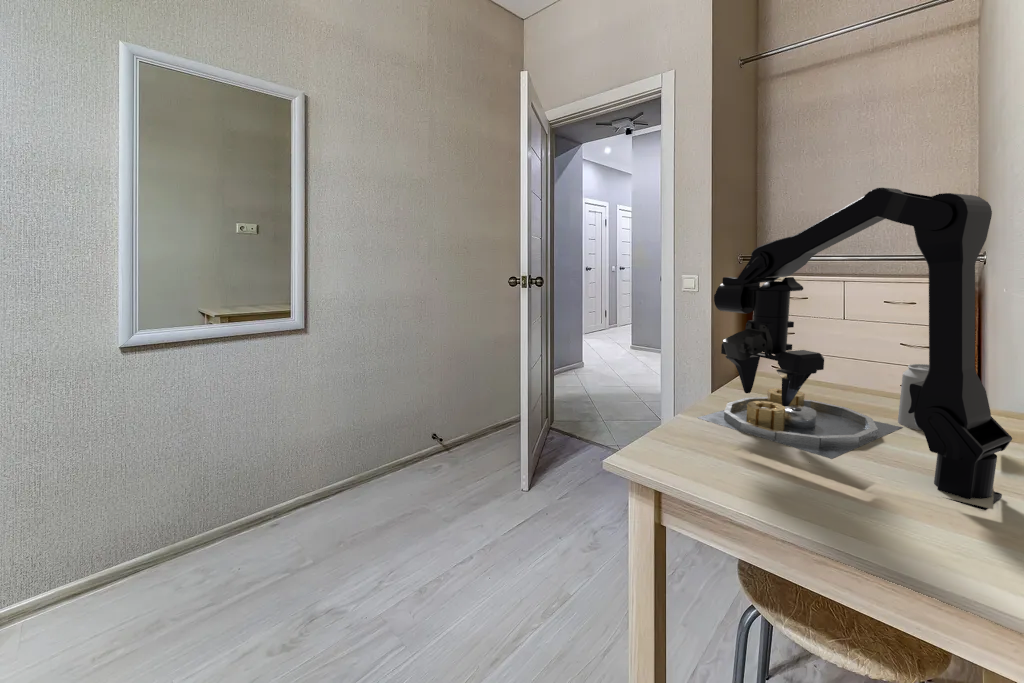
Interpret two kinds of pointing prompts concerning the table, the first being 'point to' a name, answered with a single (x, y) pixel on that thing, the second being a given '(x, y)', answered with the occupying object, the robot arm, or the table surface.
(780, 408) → the hollow octagonal wooden tube
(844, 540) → the table surface
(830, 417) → the tray
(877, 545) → the table surface
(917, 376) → the can
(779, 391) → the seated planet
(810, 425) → the domed metal knob cap
